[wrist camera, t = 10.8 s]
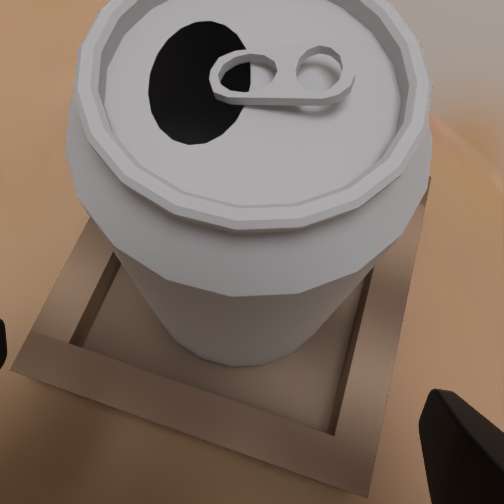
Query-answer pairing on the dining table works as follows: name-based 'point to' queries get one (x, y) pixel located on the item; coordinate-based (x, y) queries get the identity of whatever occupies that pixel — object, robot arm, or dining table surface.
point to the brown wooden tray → (226, 377)
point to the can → (249, 158)
